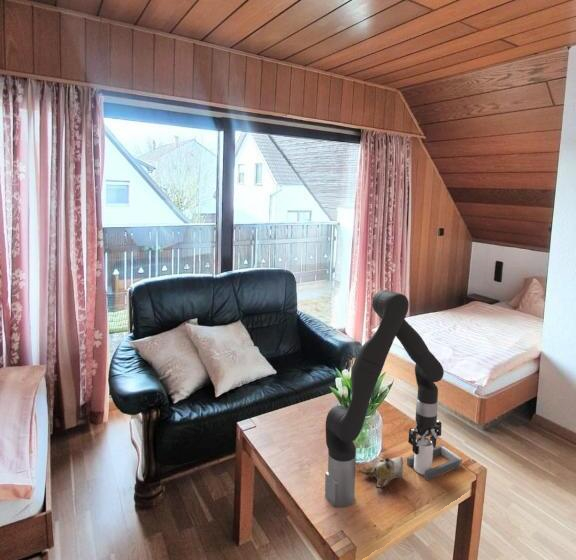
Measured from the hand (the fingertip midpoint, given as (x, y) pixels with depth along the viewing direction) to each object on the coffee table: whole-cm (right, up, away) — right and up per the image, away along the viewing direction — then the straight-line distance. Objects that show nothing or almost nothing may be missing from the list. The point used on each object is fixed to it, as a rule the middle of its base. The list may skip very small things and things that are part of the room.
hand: (424, 449), depth 162 cm
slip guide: (+5, -8, +4) cm, 10 cm away
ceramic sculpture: (-16, -10, -4) cm, 19 cm away
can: (0, -8, +2) cm, 9 cm away
